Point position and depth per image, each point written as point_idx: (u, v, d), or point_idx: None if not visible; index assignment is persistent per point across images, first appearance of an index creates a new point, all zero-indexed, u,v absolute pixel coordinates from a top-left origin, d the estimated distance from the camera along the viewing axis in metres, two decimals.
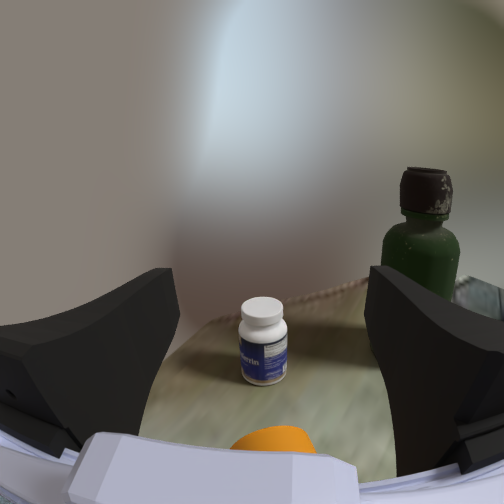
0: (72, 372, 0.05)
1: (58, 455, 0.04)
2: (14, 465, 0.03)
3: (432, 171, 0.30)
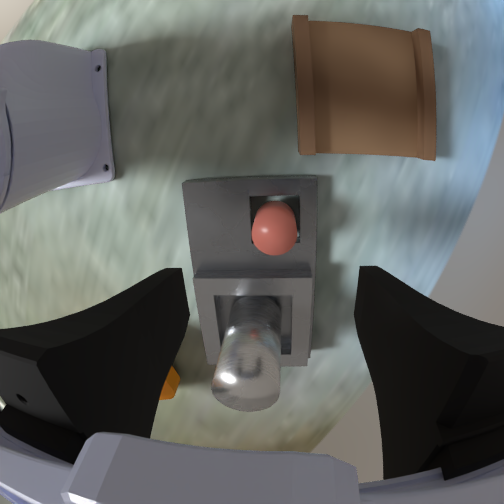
0: (87, 375, 0.05)
1: (58, 455, 0.04)
2: (14, 465, 0.03)
3: None
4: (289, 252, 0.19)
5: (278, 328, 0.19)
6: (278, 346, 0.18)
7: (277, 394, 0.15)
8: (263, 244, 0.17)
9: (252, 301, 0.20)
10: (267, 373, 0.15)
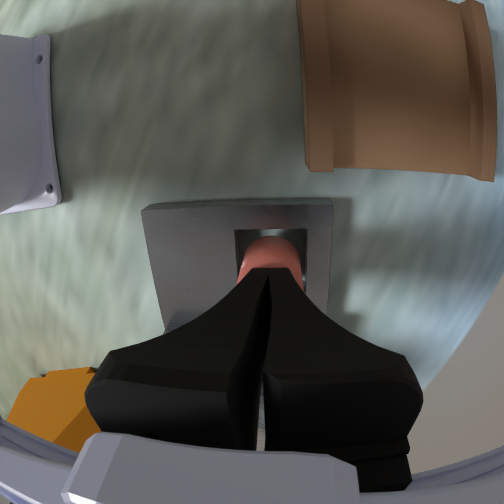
0: (243, 395, 0.05)
1: (58, 455, 0.04)
2: (14, 465, 0.03)
3: None
4: None
5: None
6: None
7: None
8: None
9: None
10: None
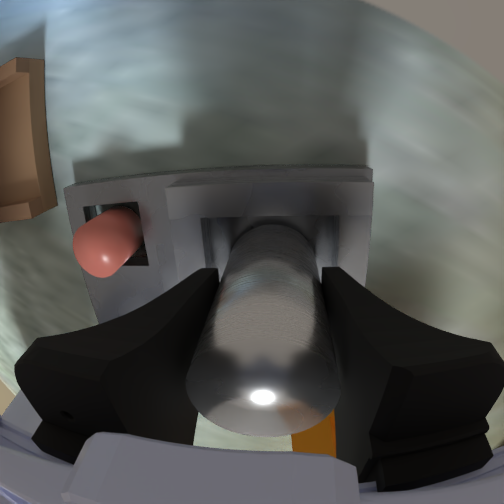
0: (145, 386, 0.05)
1: (58, 455, 0.04)
2: (14, 465, 0.03)
3: None
4: (153, 215, 0.13)
5: (246, 251, 0.10)
6: (243, 273, 0.09)
7: (268, 343, 0.06)
8: (109, 264, 0.12)
9: None
10: (198, 355, 0.06)
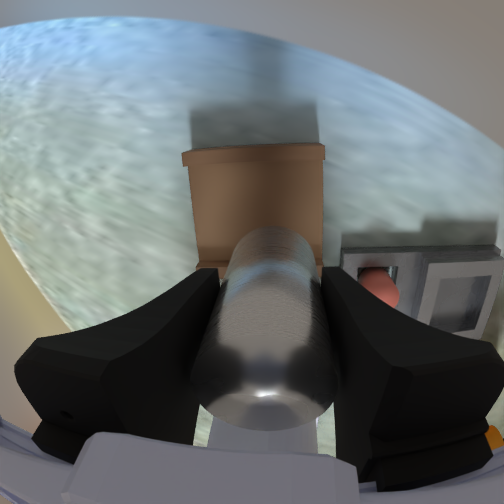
0: (145, 386, 0.05)
1: (58, 455, 0.04)
2: (14, 465, 0.03)
3: None
4: (405, 274, 0.20)
5: (240, 256, 0.11)
6: (236, 278, 0.09)
7: (256, 339, 0.06)
8: None
9: None
10: (197, 358, 0.07)
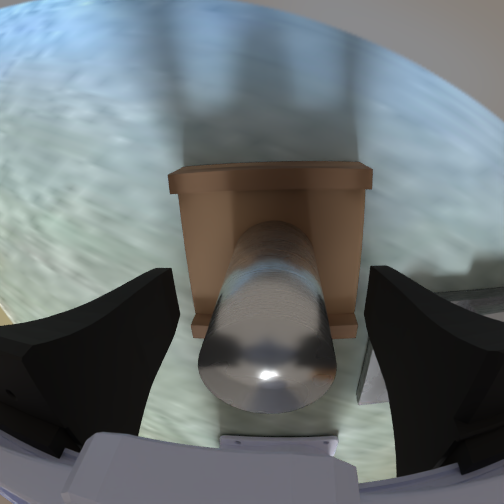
0: (72, 372, 0.05)
1: (58, 455, 0.04)
2: (14, 465, 0.03)
3: None
4: None
5: (243, 249, 0.11)
6: (240, 268, 0.10)
7: (260, 322, 0.07)
8: None
9: None
10: (204, 342, 0.07)
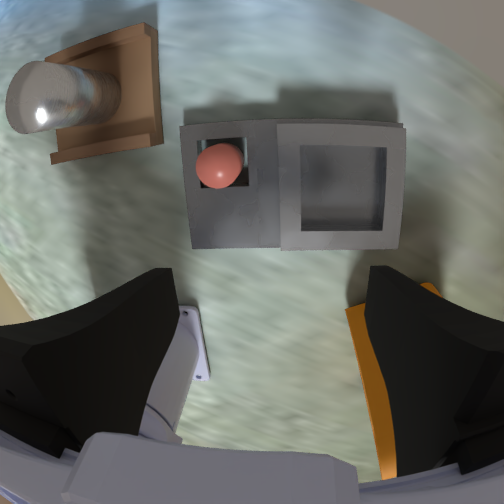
0: (72, 372, 0.05)
1: (58, 455, 0.04)
2: (14, 465, 0.03)
3: None
4: (257, 147, 0.18)
5: None
6: None
7: (27, 65, 0.09)
8: (227, 177, 0.17)
9: None
10: (10, 87, 0.10)
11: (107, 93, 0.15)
